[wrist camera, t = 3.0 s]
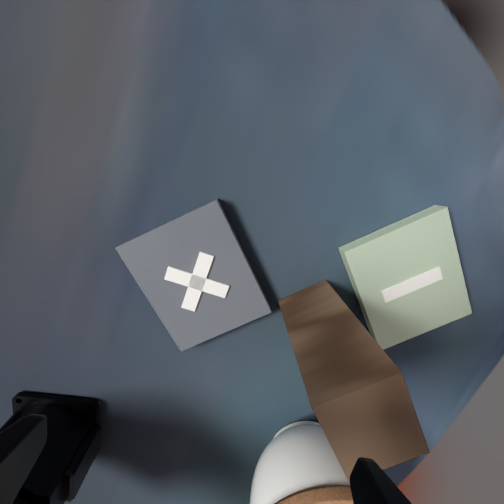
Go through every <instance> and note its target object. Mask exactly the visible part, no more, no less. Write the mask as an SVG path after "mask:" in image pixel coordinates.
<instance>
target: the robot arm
mask: <svg viewBox="0 0 504 504" xmlns="http://www.w3.org/2000/svg"><path fill="white" fill-rule="evenodd" d="M12 405H13V415H12V416H11V417H10V418H9V420H8V421H7V422H6V423H5V424H4V425H3V426H2V427H1V428H0V504H64V502H70V501H72V500H73V499H74V498H75V496H76V494H77V492H78V490H79V488H80V486H81V484H82V482H83V480H84V478H85V476H86V474H87V472H88V470H89V468H90V466H91V464H92V462H93V460H94V459H95V457H96V455H97V452H98V450H99V448H100V434H101V426H100V424H99V423H98V420H99V403H98V401H97V400H94V399H86V398H77V397H67V396H57V395H47V394H37V393H27V392H19V393H17V394H16V395H15V396H14V397H13V399H12ZM350 488H351V493H352V499H353V504H411V503H410V501H409V500H408V499H407V498H406V497H405V496H404V494H402V492H401V491H400V490H399V489H398V487H397V486H396V485H395V484H394V483H393V482H392V480H391V479H390V478H389V477H388V476H387V475H386V473H385V472H384V471H383V470H382V469H381V468H380V467H379V465H378V464H377V463H376V462H375V461H374V460H373V459H371V458H364V457H359V458H358V459H357V461H356V463H355V465H354V468H353V470H352V472H351V474H350Z"/></svg>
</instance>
